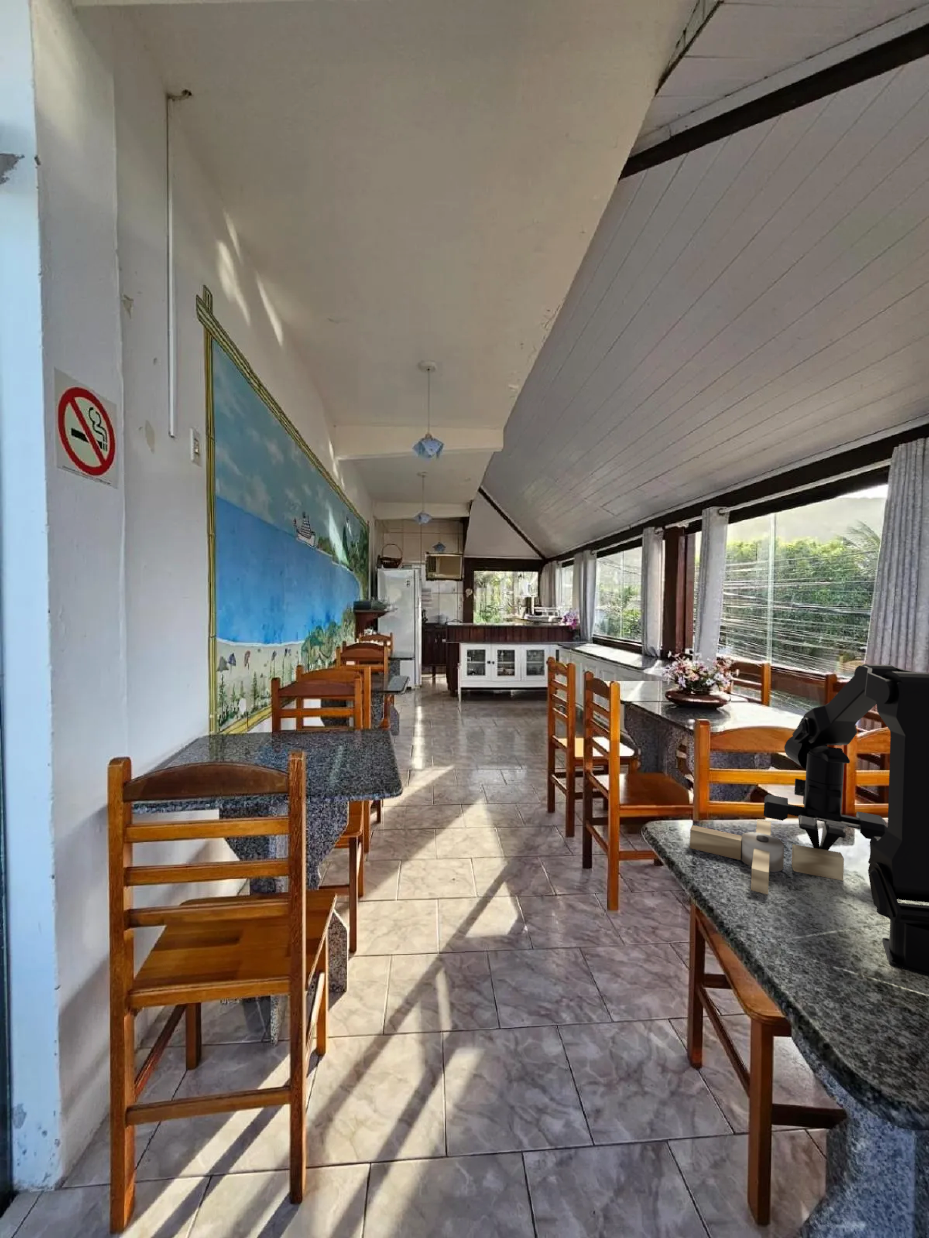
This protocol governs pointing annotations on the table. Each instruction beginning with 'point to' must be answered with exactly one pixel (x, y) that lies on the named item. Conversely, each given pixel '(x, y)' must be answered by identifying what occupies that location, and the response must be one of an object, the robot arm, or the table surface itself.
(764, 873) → the stool base
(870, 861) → the robot arm
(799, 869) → the folding leg
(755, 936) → the table surface
